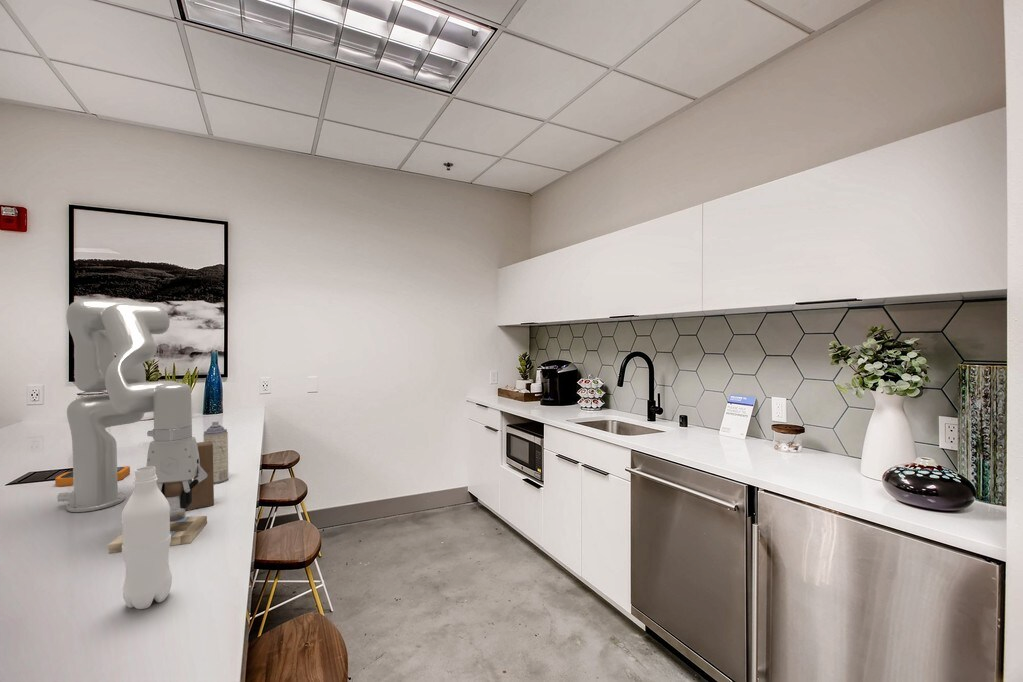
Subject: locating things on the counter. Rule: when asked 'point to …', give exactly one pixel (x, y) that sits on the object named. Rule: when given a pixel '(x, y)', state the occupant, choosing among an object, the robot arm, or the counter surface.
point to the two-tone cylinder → (175, 500)
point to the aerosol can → (218, 451)
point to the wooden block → (205, 488)
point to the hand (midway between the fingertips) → (175, 507)
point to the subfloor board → (182, 537)
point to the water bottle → (146, 542)
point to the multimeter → (67, 477)
